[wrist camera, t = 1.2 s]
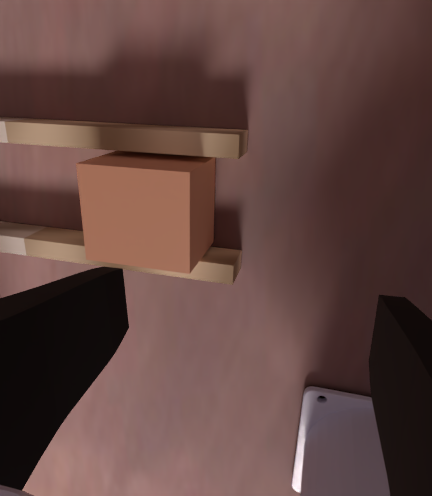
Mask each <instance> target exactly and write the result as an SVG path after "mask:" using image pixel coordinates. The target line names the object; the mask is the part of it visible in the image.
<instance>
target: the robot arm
mask: <svg viewBox="0 0 432 496" xmlns="http://www.w3.org/2000/svg"><path fill="white" fill-rule="evenodd" d="M128 328H129V324H128V315H127V305H126V296H125V287H124V277H123V268H113V267H99V268H94V269H91V270H87V271H84V272H81V273H78V274H74V275H71V276H68V277H65V278H63V279H60V280H57V281H54V282H51V283H48V284H45V285H42V286H39V287H36V288H33V289H29V290H26V291H23V292H20V293H17V294H13V295H10V296H7V297H4V298H0V496H33V495H31V494H29V493H27V492H25V491H22V489H23V488H24V486H25V484H26V482H27V481H28V479H29V477H30V475H31V474H32V472H33V470H34V468H35V467H36V465H37V463H38V461H39V460H40V458H41V456H42V455H43V453H44V451H45V450H46V448H47V447H48V445H49V443H50V442H51V440H52V438H53V437H54V435H55V434H56V432H57V430H58V429H59V427H60V426H61V424H62V423H63V421H64V420H65V419H66V417H67V416H68V414H69V413H70V412H71V410H72V409H73V408H74V406H75V405H76V404H77V402H78V401H79V400H80V399H81V397H82V396H83V395H84V393H85V392H86V391H87V390H88V388H89V387H90V386H91V384H92V383H93V382H94V381H95V379H96V378H97V377H98V375H99V374H100V373H101V371H102V370H103V369H104V367H105V366H106V365H107V363H108V362H109V361H110V359H111V358H112V357H113V355H114V354H115V352H116V350H117V349H118V347H119V345H120V343H121V342H122V340H123V338H124V336H125V334H126V332H127V330H128ZM369 372H370V388H371V397H367V396H362V395H356V394H351V393H346V392H341V391H335V390H330V389H325V388H320V387H314V386H310V387H307V388H306V389H305V390H304V394H303V402H302V409H301V417H300V424H299V431H298V439H297V446H296V454H295V461H294V469H293V476H292V488H293V489H294V490H295V491H297V492H300V496H432V320H430V319H429V318H428V317H427V316H426V315H425V314H424V313H423V312H421V311H420V310H419V309H418V308H417V307H416V306H415V305H414V304H412V303H411V302H410V301H409V300H408V299H406V298H405V297H395V296H385V295H379V298H378V305H377V311H376V318H375V325H374V331H373V338H372V344H371V351H370V357H369ZM319 396H324V397H326V398H323V399H321V398H319Z"/></svg>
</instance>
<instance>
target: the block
mask: <svg viewBox="0 0 432 496" xmlns="http://www.w3.org/2000/svg"><path fill="white" fill-rule="evenodd" d="M215 164H216V157H204V156H189V155H175V154H161V153H146V152H132V151H115V152H112V153H109V154H105V155H102V156H99V157H96V158H92V159H89V160H86V161H83V162H79V163H76V167H77V177H78V186H79V196H80V206H81V215H82V225H83V234H84V244H85V253H86V260H93V261H100V262H107V263H115V264H122V265H129V266H136V267H143V268H151V269H158V270H165V271H172V272H180V273H187V274H190V273H191V272H192V270H193V269H194V268H195V266H196V265H197V264H198V262H199V261H200V259H201V258H202V257H203V255H204V254H205V253H206V251H207V250H208V249H209V247H210V246H211V245H212V243H213V242H214V205H215Z"/></svg>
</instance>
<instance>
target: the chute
mask: <svg viewBox="0 0 432 496" xmlns="http://www.w3.org/2000/svg"><path fill="white" fill-rule="evenodd" d="M0 142H3V143H17V144H31V145H46V146H60V147H75V148H89V149H103V150H118V151H132V152H146V153H161V154H175V155H189V156H204V157H218V158H233V159H239V158H240V157H241V156H243V155H244V154H245V153H246V152H247V142H248V130H239V129H221V128H202V127H183V126H164V125H145V124H126V123H107V122H88V121H70V120H51V119H32V118H13V117H0ZM0 252H5V253H12V254H19V255H26V256H33V257H40V258H47V259H54V260H61V261H68V262H76V263H83V264H90V265H97V266H104V267H113V268H123V269H125V270H132V271H139V272H146V273H154V274H161V275H168V276H175V277H182V278H189V279H196V280H203V281H210V282H217V283H224V284H232V285H233V283H234V281H235V279H236V277H237V275H238V273H239V271H240V269H241V256H242V250H235V249H227V248H218V247H209V249H208V250H207V251H206V253H205V254H204V255H203V257H202V258H201V259H200V261H199V262H198V264H197V265H196V266H195V268H194V269H193V270H192V272H191V273H190V274H187V273H180V272H172V271H165V270H158V269H151V268H143V267H136V266H129V265H122V264H115V263H107V262H100V261H93V260H86V253H85V244H84V234H83V231H78V230H70V229H61V228H53V227H45V226H37V225H28V224H20V223H12V222H4V221H0Z"/></svg>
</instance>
